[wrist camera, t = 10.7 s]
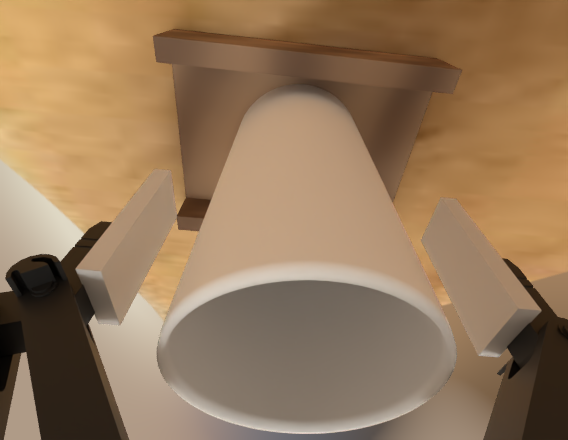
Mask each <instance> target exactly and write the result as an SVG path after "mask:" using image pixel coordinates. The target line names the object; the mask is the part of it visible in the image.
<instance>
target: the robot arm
mask: <svg viewBox="0 0 568 440" xmlns="http://www.w3.org/2000/svg"><path fill="white" fill-rule="evenodd" d="M176 218H177V212H176V205H175V197H174V189H173V182H172V174H171V170H163V169H154V170H153V172H152V173H151V174H150V175H149V177H148V178H147V179H146V180H145V182H144V183H143V184H142V185H141V187H140V188H139V189H138V190H137V192H136V193H135V194H134V196H133V197H132V198H131V199H130V201H129V202H128V203H127V204H126V206H125V207H124V208H123V209H122V211H121V212H120V213H119V214H118V216H117V217H116V218H115V220H114V221H113V222H102V221H101V222H99V223H98V224H96V225H94V226H93V227H91V228H90V229H88V231H87V232H86V233H85V234H84V235H83V237H82V238H81V240H79V241H78V242H77V244H75V247H73V248H72V249H71V250H70V251H69V253H68V254H67V255H66V256H65V257H64V258H63V260H62V261H61V262H60V261H59V260H58V258H57V257H55V256H53V255H49V254H48V255H47V254H40V255H36V256H30V257H28V258H25V259H23V260H21V261H19V262H18V263H16V264H15V265H13V266H12V267H11V268H10V269H9V270H8V272H7V273H6V280H7V282H8V284H9V285H10V287H11V288H12V290H13V291H10V292H3V293H0V440H4V435H5V430H6V425H7V420H8V415H9V410H10V405H11V400H12V396H13V390H14V386H15V381H16V376H17V371H18V366H19V361H20V356H21V353H23V352H27V358H28V364H29V370H30V376H31V382H32V388H33V393H34V400H35V405H36V411H37V417H38V423H39V429H40V434H41V440H129V438H128V435H127V432H126V429H125V427H124V424H123V421H122V418H121V415H120V412H119V409H118V406H117V404H116V401H115V398H114V395H113V392H112V389H111V386H110V384H109V381H108V378H107V375H106V372H105V369H104V366H103V364H102V361H101V358H100V355H99V352H98V349H97V346H96V343H95V341H94V338H93V335H92V332H91V329H90V327H89V325H88V323H89V321H90V320H91V318H92V316H93V315H94V314H95V316H96V319H97V321H98V323H99V324H110V325H121V323H122V321H123V319H124V317H125V315H126V313H127V312H128V309H129V308H130V306H131V304H132V302H133V300H134V298H135V296H136V294H137V293H138V291H139V289H140V287H141V285H142V283H143V281H144V279H145V277H146V275H147V273H148V272H149V270H150V268H151V266H152V264H153V262H154V260H155V258H156V256H157V254H158V253H159V251H160V249H161V247H162V245H163V243H164V241H165V239H166V237H167V235H168V233H169V232H170V230H171V228H172V226H173V224H174V222H175V220H176ZM421 241H422V243H423V245H424V247H425V249H426V251H427V253H428V255H429V257H430V259H431V261H432V263H433V265H434V267H435V269H436V271H437V273H438V275H439V278H440V280H441V282H442V284H443V286H444V288H445V290H446V292H447V294H448V296H449V298H450V300H451V302H452V304H453V306H454V308H455V310H456V312H457V314H458V316H459V318H460V320H461V322H462V324H463V326H464V328H465V330H466V332H467V334H468V336H469V338H470V340H471V342H472V344H473V346H474V348H475V350H476V352H477V354H478V356H490V357H499V356H500V355H501V354H502V353H503V352H504V351H505V350H506V349H507V348H508V350H509V351H510V353H511V355H512V356H513V357H512V358H511V359H510V360H509V361H508V362H507V363H506V364H505V365H504V366H503V367H502V369H501V370H500V371H499V372H498V373H497V374H498V375H501V374H502V373H503V372H505V373H504V376H503V379H502V382H501V385H500V389H499V392H498V395H497V398H496V402H495V405H494V408H493V411H492V414H491V417H490V421H489V424H488V427H487V430H486V433H485V436H484V439H483V440H568V320H567V319H565V318H560V317H557V315H556V314H555V313H554V312H553V310H552V309H551V308H550V307H549V305H548V304H547V303H546V302H545V300H544V299H543V298H542V297H541V295H540V294H539V293H538V291H537V290H536V289H535V288H533V285H532V284H531V283H530V281H529V280H527V278H526V276H525V275H524V274H523V273H522V271H521V270H520V269H519V268H518V267H517V266H515V265H514V264H513V263H512V262H510V261H509V260H508V259H504V258H501V257H500V255H499V254H498V253H497V251H496V250H495V249H494V248H493V246H492V245H491V244H490V242H489V241H488V240H487V238H486V237H485V236H484V234H483V233H482V232H481V231H480V229H479V228H478V227H477V225H476V224H475V223H474V221H473V220H472V219H471V217H470V216H469V215H468V214H467V212H466V211H465V210H464V208H463V207H462V206H461V204H460V203H459V202H458V200H457V199H453V198H443V197H441V198H440V200H439V202H438V205H437V207H436V209H435V211H434V213H433V215H432V217H431V220H430V222H429V224H428V226H427V228H426V230H425V233H424V235H423V237H422V239H421Z"/></svg>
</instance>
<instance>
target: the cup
mask: <svg viewBox="0 0 568 440" xmlns="http://www.w3.org/2000/svg"><path fill="white" fill-rule="evenodd" d="M456 357H457V350H456V344H455V340H454V337H453V334H452V331H451V327H450V324H449V322H448V320H447V318H446V316H445V314H444V311H443V309H442V307H441V305H440V303H439V301H438V298H437V296H436V294H435V292H434V290H433V288H432V286H431V284H430V281H429V279H428V277H427V275H426V273H425V271H424V269H423V266H422V264H421V262H420V260H419V258H418V256H417V254H416V252H415V249H414V247H413V245H412V243H411V241H410V239H409V237H408V235H407V232H406V230H405V228H404V226H403V224H402V222H401V220H400V218H399V216H398V213H397V211H396V209H395V207H394V205H393V203H392V201H391V199H390V197H389V194H388V192H387V190H386V188H385V186H384V184H383V182H382V180H381V177H380V175H379V173H378V171H377V169H376V167H375V165H374V163H373V161H372V158H371V156H370V154H369V152H368V150H367V148H366V146H365V144H364V141H363V139H362V137H361V135H360V133H359V131H358V129H357V127H356V125H355V122H354V120H353V118H352V116H351V114H350V113H349V111H348V109H347V108H346V107H345V105H344V104H343V103H342V102H341V101H340V100H339V99H338V98H336V97H335V96H334V95H332V94H331V93H329V92H327V91H325V90H323V89H321V88H318V87H315V86H311V85H304V84H293V85H286V86H282V87H278V88H276V89H273V90H271V91H269V92H267V93H266V94H264V95H263V96H261V97H260V98H259V99H257V100H256V101H255V102H254V103H253V104H252V105H251V107H250V108H249V109H248V111H247V112H246V114H245V115H244V117H243V119H242V122H241V124H240V127H239V130H238V132H237V135H236V137H235V140H234V142H233V145H232V148H231V150H230V153H229V155H228V158H227V160H226V163H225V166H224V168H223V171H222V173H221V176H220V179H219V181H218V184H217V186H216V189H215V191H214V194H213V197H212V199H211V202H210V204H209V207H208V209H207V212H206V215H205V217H204V220H203V222H202V225H201V228H200V230H199V233H198V235H197V238H196V240H195V243H194V246H193V248H192V251H191V253H190V256H189V258H188V261H187V264H186V266H185V269H184V272H183V274H182V277H181V279H180V282H179V285H178V287H177V290H176V292H175V295H174V298H173V300H172V303H171V305H170V308H169V311H168V313H167V316H166V318H165V321H164V324H163V326H162V329H161V334H160V337H159V341H158V346H157V362H158V366H159V369H160V371H161V374H162V376H163V377H164V379H165V381H166V382H167V383H168V385H169V386H170V387H171V388H172V389H173V390H174V392H175V393H176V394H178V395H179V396H180V397H181V398H182V399H184V400H185V401H187V402H188V403H189V404H191V405H192V406H194V407H196V408H197V409H199V410H201V411H203V412H205V413H207V414H209V415H212V416H214V417H216V418H219V419H222V420H224V421H227V422H230V423H233V424H237V425H241V426H245V427H249V428H254V429H259V430H265V431H272V432H281V433H298V434H316V433H332V432H341V431H348V430H354V429H359V428H364V427H369V426H372V425H376V424H380V423H383V422H386V421H389V420H392V419H394V418H397V417H399V416H402V415H404V414H406V413H408V412H410V411H412V410H414V409H416V408H417V407H419V406H421V405H422V404H424V403H425V402H427V401H428V400H429V399H431V398H432V397H433V396H434V395H436V394H437V393H438V392H439V391H440V390H441V389H442V387H443V386H444V385H445V384H446V383H447V381H448V380H449V378H450V376H451V374H452V372H453V370H454V367H455V363H456Z"/></svg>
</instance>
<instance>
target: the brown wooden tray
mask: <svg viewBox="0 0 568 440" xmlns="http://www.w3.org/2000/svg"><path fill="white" fill-rule="evenodd" d="M153 41H154V48H155V56H156V62H159V63H169V64H172V68H173V77H174V87H175V96H176V106H177V115H178V125H179V134H180V144H181V153H182V163H183V172H184V182H185V191H186V199H185V201H184V203H183V205H182V207H181V209H180V211H179V213H178V215H177V222H178V229H179V230H190V231H199V230H200V228H201V225H202V222H203V220H204V217H205V215H206V212H207V209H208V207H209V204H210V202H211V199H212V197H213V194H214V191H215V189H216V186H217V184H218V181H219V179H220V176H221V173H222V171H223V168H224V166H225V163H226V160H227V158H228V155H229V153H230V150H231V148H232V145H233V142H234V140H235V137H236V135H237V132H238V130H239V127H240V124H241V122H242V119H243V117H244V115H245V114H246V112H247V111H248V109H249V108H250V107H251V105H252V104H253V103H254V102H255V101H256V100H257V99H259V98H260V97H261V96H263V95H264V94H266V93H267V92H269V91H271V90H273V89H276V88H278V87H282V86H286V85H293V84H304V85H311V86H315V87H318V88H321V89H323V90H325V91H327V92H329V93H331V94H332V95H334V96H335V97H336V98H338V99H339V100H340V101H341V102H342V103H343V104H344V105H345V107H346V108H347V109H348V111H349V113H350V114H351V116H352V118H353V120H354V122H355V125H356V127H357V129H358V131H359V133H360V135H361V137H362V139H363V141H364V144H365V146H366V148H367V150H368V152H369V154H370V156H371V158H372V161H373V163H374V165H375V167H376V169H377V171H378V173H379V175H380V177H381V180H382V182H383V184H384V186H385V188H386V190H387V192H388V194H389V197H390V199H391V201H392V203H393V201H394V198H395V195H396V192H397V189H398V187H399V184H400V181H401V178H402V176H403V173H404V170H405V167H406V164H407V162H408V159H409V156H410V153H411V151H412V148H413V145H414V142H415V139H416V137H417V134H418V131H419V128H420V125H421V123H422V120H423V117H424V114H425V112H426V109H427V106H428V103H429V100H430V98H431V95H432V92H439V93H448V94H453V92H454V90H455V87H456V85H457V82H458V80H459V77H460V75H461V72H462V70H461V69H459V68H457V67H454V66H452V65H450V64H448V63H446V62H444V61H441V60H439V59H437V58H428V57H419V56H410V55H401V54H392V53H383V52H374V51H366V50H357V49H348V48H339V47H330V46H321V45H312V44H303V43H294V42H285V41H276V40H267V39H258V38H249V37H240V36H231V35H222V34H214V33H205V32H196V31H187V30H178V29H173V30H170V31H166V32H163V33H160V34H157V35H154V36H153Z"/></svg>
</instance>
